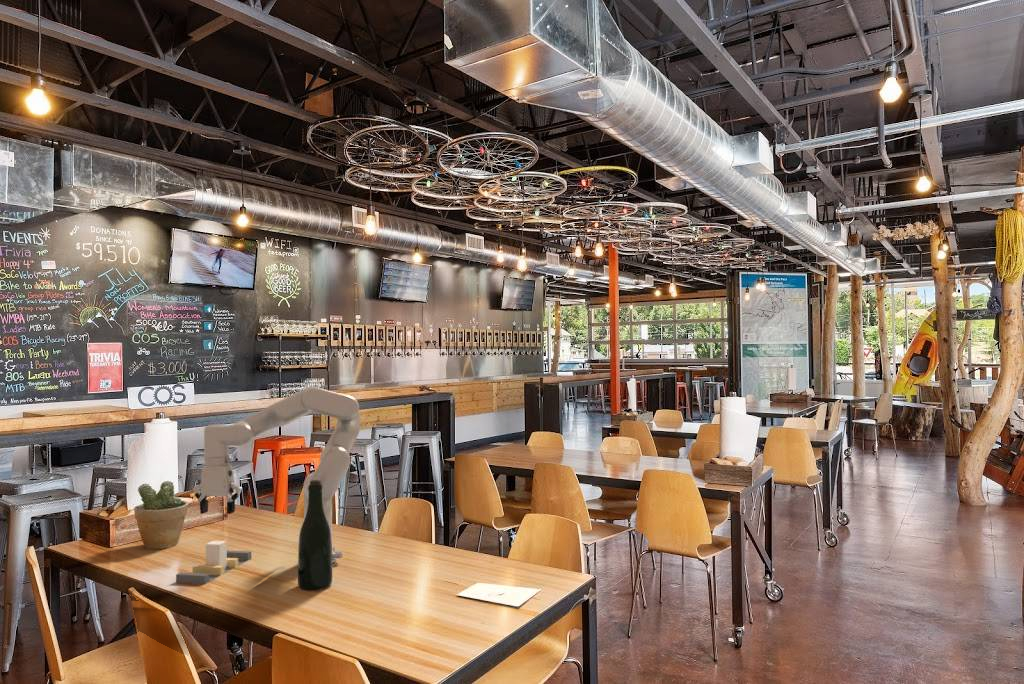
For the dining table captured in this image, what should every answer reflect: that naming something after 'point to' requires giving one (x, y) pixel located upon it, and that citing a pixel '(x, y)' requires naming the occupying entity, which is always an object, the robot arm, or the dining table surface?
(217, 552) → the frame block
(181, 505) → the potted plant
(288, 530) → the dining table surface
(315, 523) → the beer bottle
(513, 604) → the paper sheet
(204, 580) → the notch rail
